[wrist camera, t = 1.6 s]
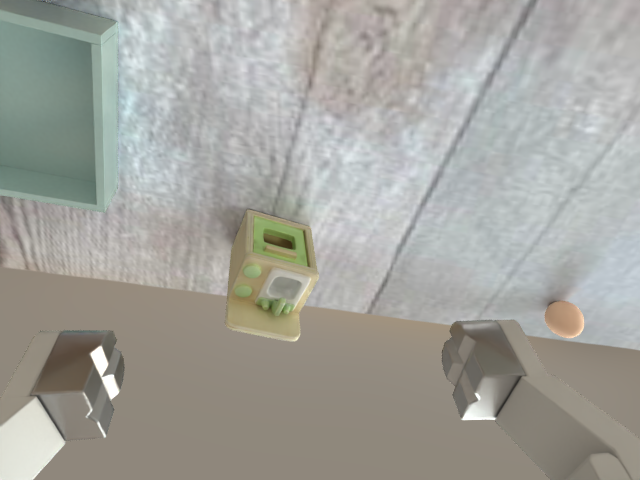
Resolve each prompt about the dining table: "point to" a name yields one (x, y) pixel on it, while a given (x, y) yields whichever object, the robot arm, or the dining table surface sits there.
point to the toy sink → (270, 276)
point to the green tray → (58, 105)
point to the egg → (564, 319)
